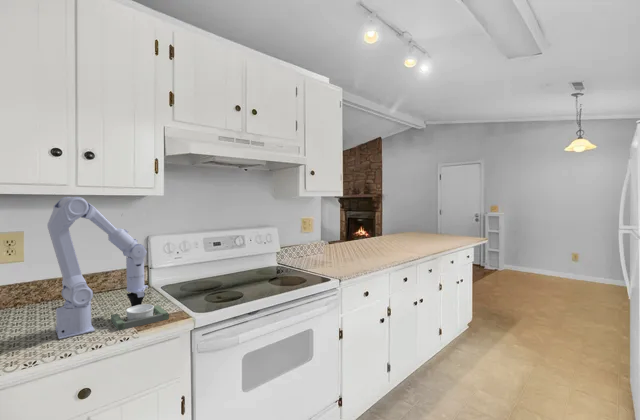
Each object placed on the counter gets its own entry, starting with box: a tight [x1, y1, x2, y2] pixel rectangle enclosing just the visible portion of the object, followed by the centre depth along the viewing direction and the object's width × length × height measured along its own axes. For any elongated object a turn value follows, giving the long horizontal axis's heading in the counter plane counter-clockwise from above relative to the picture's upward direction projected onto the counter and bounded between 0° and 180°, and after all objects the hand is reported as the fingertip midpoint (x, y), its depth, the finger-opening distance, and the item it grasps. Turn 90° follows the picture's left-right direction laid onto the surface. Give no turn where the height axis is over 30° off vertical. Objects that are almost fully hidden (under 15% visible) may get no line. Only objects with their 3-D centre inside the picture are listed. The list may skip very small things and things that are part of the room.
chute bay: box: [110, 304, 170, 331], centre depth 123 cm, size 16×12×2 cm
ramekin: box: [125, 303, 155, 321], centre depth 123 cm, size 9×9×4 cm
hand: (136, 312), depth 127 cm, fingers closed
